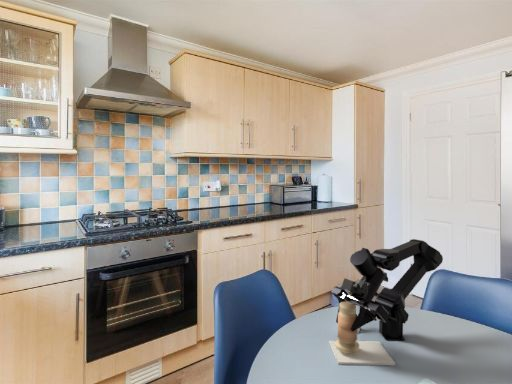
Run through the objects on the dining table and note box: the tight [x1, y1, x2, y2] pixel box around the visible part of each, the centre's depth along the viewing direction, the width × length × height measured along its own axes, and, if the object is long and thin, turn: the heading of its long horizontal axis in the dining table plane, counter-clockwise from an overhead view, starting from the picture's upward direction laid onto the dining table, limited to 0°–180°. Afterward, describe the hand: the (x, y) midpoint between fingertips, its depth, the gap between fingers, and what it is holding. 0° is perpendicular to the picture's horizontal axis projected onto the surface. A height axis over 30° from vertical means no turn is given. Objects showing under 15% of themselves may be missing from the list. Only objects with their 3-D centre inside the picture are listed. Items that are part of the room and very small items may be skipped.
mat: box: [329, 340, 396, 366], centre depth 95 cm, size 16×12×1 cm
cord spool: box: [335, 302, 359, 353], centre depth 94 cm, size 7×7×13 cm
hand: (344, 326), depth 94 cm, fingers closed on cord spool, 5 cm apart
